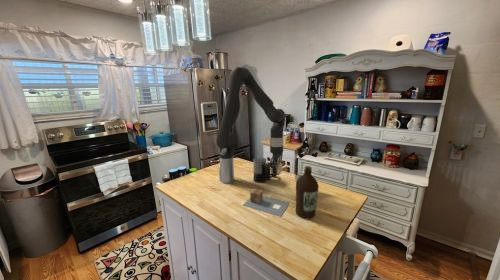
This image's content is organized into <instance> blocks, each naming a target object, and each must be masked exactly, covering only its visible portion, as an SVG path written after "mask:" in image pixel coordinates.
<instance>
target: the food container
mask: <svg viewBox="0 0 500 280" xmlns="http://www.w3.org/2000/svg"><path fill="white" fill-rule="evenodd" d="M302 175H303V174H301V175H300V174H297V173H295V174H294V179H295V183H296V182H297V180H298V179H299V178H300V177H301V176H302ZM313 177H314V178H315V176H313ZM315 179H316V178H315Z"/></svg>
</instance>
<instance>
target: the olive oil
mask: <svg viewBox="0 0 500 280" xmlns="http://www.w3.org/2000/svg"><path fill="white" fill-rule="evenodd" d="M301 175H302V176H301V177H300V178H299V179H298V180H297V182H296V181H295V214H296V216H298V218H299V217H300V218H301V219H303V220H309V219H311V220H312V219H313V218H315V215H316V210H317V201H318V194H319V184H318V181H317V179H316V178H314V177H315V176H313V175H312V166H308V165H305V166H304V173H303V174H301Z"/></svg>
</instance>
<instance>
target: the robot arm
mask: <svg viewBox="0 0 500 280" xmlns="http://www.w3.org/2000/svg"><path fill="white" fill-rule="evenodd" d="M228 83H229V84H228V90H227V91H228V92H227V96H226V101H225V103H224V104H225V106H224V110H223V114H222V118H221V123H220V125H219V129H218V132H217V136H216V140H215V142H216V146H217V148H219V149H221V151H220V152H219V167H218V175H219V176H218V177H219V181H220V182H221V183H222V184H230V183H233V182H234V181H235V166H234V165H235V164H234V163H235V162H234V154H235V145H236V144H235V137H234V135H233V134H232V133H231V129H232V128H233V126H234V124H235V123H236V121H237V119H238V118H239V115H240V110H241V100H240V91H241V87H242V85H244V86H245V87H246V88H247V89H248V90H249V91H250V92H251V94H252V97H253V99H254V100H255V103H257V105H258V106H259V107H260V108H261V109H262V110H263V111H264V114H265V115H266V117H267V119H268V120H269V121H270V122H272V126H271V128H270V140H269V151H270V152H269V153H270V154H272V156H271V158H270V159H269V163H270V164H269V166H270V169H271V168H273V174H277V164H278V162H279V163H280V162H281V163H282V164H283V161H282V160H283V153H284V127H285V123H286V113H285V111H284V110H283V109H282V108H276V107H275V105H274V101H273V100H272V99H271V98H270V96H269V95H267V94H266V92H265V91H264V90H263V89H262V88H261V86H260V85H259V84H258V82H257V81H256V79H255V78H254V76H253V74H252V73H251V71H250V70H249V69H248V68H245V67H241V66H236V67H233V69H232V70H231V72H230V75H229V82H228ZM275 162H277V163H275ZM275 164H276V165H275Z"/></svg>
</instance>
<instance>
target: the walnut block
mask: <svg viewBox="0 0 500 280" xmlns="http://www.w3.org/2000/svg"><path fill="white" fill-rule="evenodd" d="M263 192H264V191H263V190H262V189H259V188H253V189H252V190H251V191H250V192H249V193H250V194H249V195H250V197H249V198H250V201H251V202H252V203H255V204H259V203H260V202H261V201H262V200H263V196H264V195H263Z"/></svg>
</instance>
